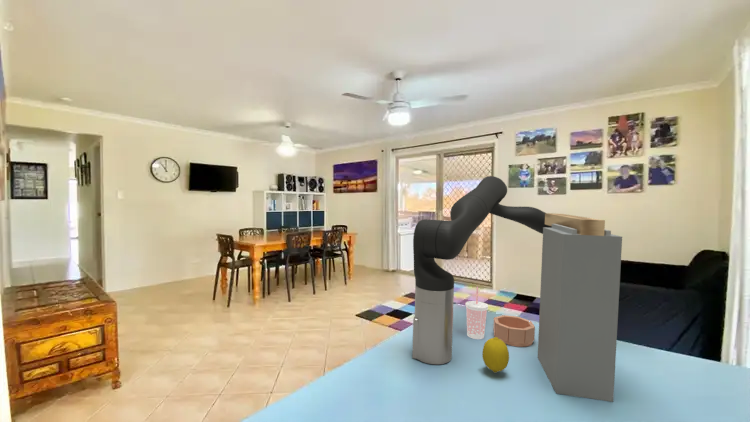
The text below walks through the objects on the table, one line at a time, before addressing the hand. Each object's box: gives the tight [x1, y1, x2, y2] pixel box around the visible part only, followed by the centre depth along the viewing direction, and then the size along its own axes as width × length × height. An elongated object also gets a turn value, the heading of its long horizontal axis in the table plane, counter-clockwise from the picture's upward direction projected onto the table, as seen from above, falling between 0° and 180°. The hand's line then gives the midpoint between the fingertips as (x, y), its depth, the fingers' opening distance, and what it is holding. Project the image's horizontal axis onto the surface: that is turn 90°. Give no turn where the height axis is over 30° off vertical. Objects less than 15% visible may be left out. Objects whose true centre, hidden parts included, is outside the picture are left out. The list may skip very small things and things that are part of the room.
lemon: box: [481, 336, 510, 374], centre depth 73 cm, size 6×6×8 cm
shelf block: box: [537, 224, 623, 403], centre depth 71 cm, size 10×15×33 cm, turn 166°
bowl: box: [492, 314, 536, 348], centre depth 90 cm, size 10×10×5 cm
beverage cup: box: [465, 286, 489, 340], centre depth 92 cm, size 6×6×14 cm
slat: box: [545, 212, 606, 236], centre depth 75 cm, size 4×26×3 cm, turn 166°
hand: (592, 234), depth 84 cm, fingers open, 8 cm apart
